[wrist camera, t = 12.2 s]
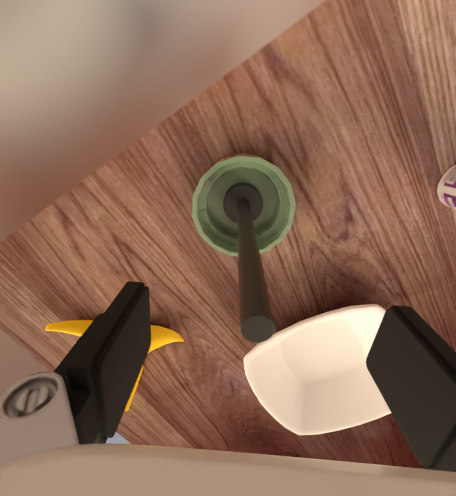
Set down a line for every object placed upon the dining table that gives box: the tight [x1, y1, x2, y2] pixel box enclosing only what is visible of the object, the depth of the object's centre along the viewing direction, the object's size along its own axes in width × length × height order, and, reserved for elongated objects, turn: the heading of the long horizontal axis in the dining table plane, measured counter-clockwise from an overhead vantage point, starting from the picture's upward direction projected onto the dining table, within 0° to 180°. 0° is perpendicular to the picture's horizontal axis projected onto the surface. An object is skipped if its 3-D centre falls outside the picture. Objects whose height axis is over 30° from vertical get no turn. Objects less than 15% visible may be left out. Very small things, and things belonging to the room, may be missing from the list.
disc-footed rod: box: [223, 182, 275, 342], centre depth 20 cm, size 4×4×22 cm
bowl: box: [244, 304, 391, 435], centre depth 37 cm, size 22×22×5 cm
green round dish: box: [192, 153, 296, 256], centre depth 29 cm, size 11×11×4 cm
